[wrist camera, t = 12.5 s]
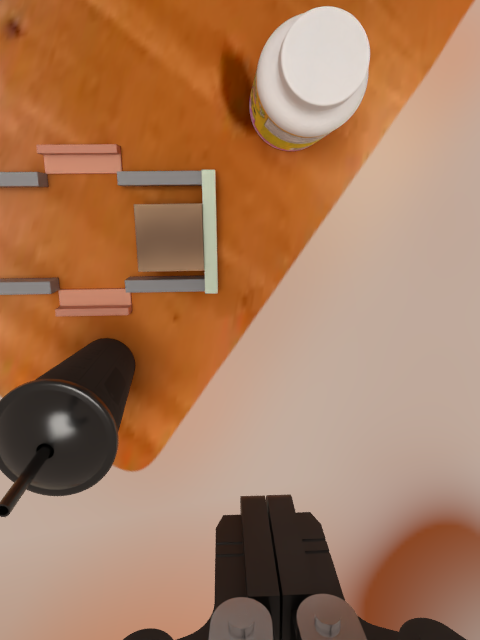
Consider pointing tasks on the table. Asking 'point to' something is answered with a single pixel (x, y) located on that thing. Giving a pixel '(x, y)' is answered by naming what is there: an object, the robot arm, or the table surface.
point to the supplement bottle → (309, 78)
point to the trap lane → (109, 161)
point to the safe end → (210, 230)
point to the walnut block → (169, 237)
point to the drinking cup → (65, 423)
